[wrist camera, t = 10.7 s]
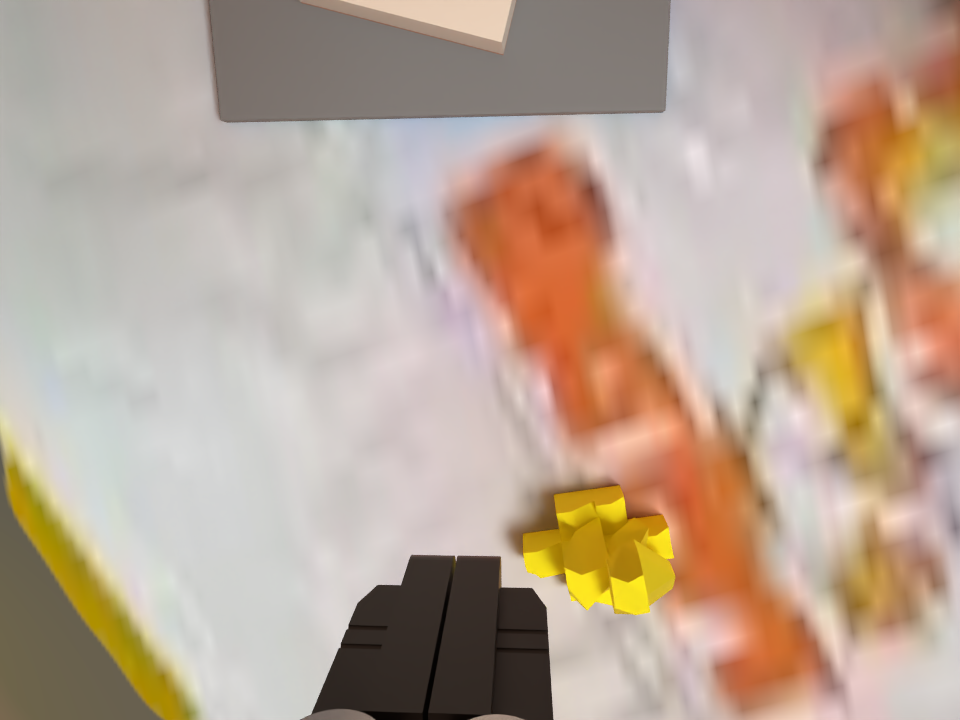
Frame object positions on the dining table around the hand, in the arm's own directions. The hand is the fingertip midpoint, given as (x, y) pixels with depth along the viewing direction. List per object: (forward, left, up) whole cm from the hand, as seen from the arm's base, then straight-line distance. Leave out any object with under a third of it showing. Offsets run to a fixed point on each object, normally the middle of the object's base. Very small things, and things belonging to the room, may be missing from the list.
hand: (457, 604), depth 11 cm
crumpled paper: (-5, +12, -25) cm, 28 cm away
